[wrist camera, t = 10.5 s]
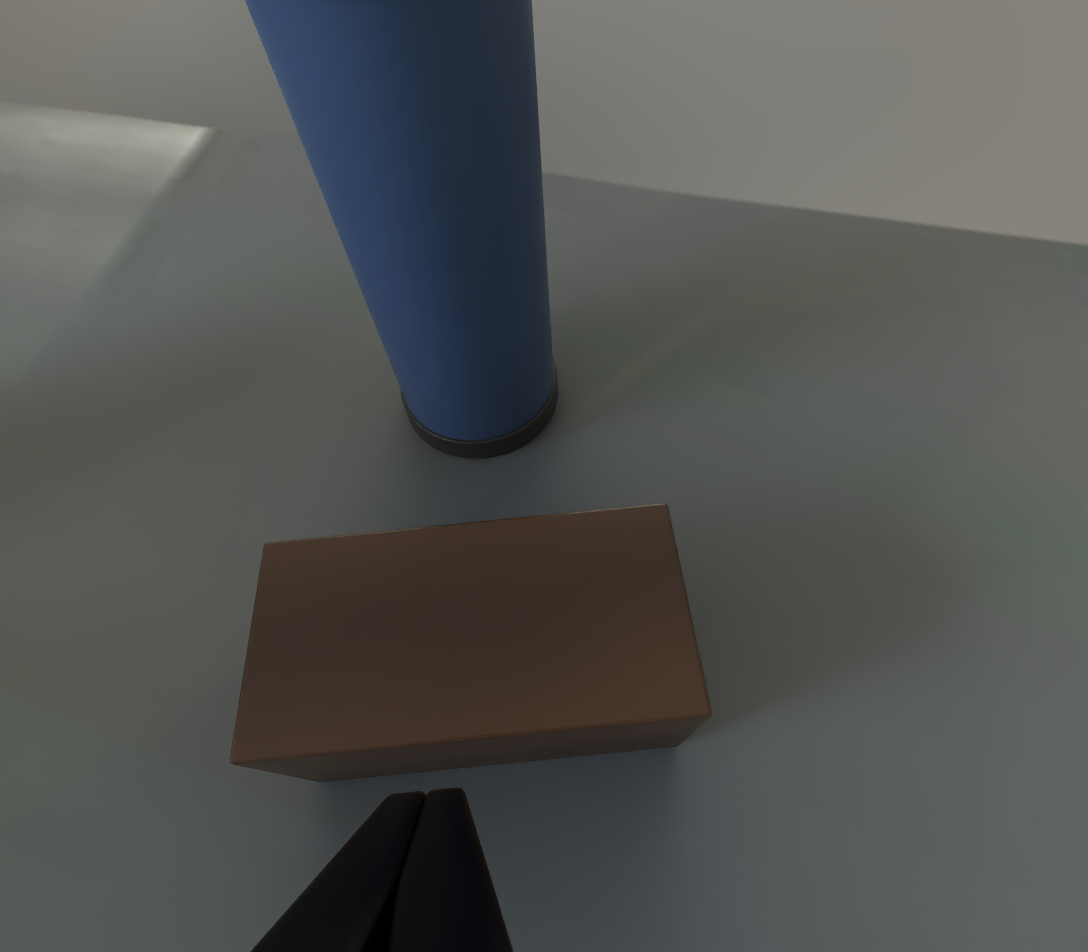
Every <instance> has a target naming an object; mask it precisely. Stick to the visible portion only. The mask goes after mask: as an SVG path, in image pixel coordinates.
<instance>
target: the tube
mask: <svg viewBox="0 0 1088 952" xmlns="http://www.w3.org/2000/svg"><path fill="white" fill-rule="evenodd" d="M245 1H246V4H247V6H248V9H249V11H250V14H251V16H252V19H253V21H254V24H255V26H256V29H257V31H258V34H259V36H260V39H261V41H262V44H263V46H264V49H265V51H266V53H267V56H268V59H269V61H270V64H271V66H272V69H273V71H274V74H275V76H276V79H277V81H278V83H279V86H280V88H281V91H282V94H283V96H284V98H285V101H286V103H287V106H288V108H289V111H290V113H291V116H292V118H293V121H294V123H295V126H296V128H297V131H298V133H299V136H300V138H301V141H302V143H303V146H304V148H305V151H306V153H307V156H308V158H309V161H310V163H311V166H312V168H313V171H314V173H315V176H316V178H317V181H318V183H319V186H320V188H321V191H322V193H323V196H324V198H325V201H326V203H327V206H328V208H329V211H330V213H331V216H332V218H333V221H334V223H335V226H336V228H337V231H338V233H339V236H340V238H341V240H342V243H343V245H344V248H345V250H346V253H347V255H348V258H349V260H350V263H351V265H352V268H353V270H354V273H355V275H356V278H357V280H358V283H359V285H360V288H361V290H362V293H363V295H364V298H365V300H366V303H367V305H368V308H369V310H370V313H371V315H372V318H373V320H374V323H375V325H376V328H377V330H378V333H379V335H380V338H381V340H382V343H383V345H384V348H385V350H386V353H387V355H388V358H389V360H390V363H391V365H392V368H393V370H394V373H395V375H396V377H397V380H398V382H399V385H400V387H401V396H402V401H403V404H404V407H405V409H406V412H407V414H408V417H409V419H410V422H411V424H412V426H413V427H414V429H415V431H416V432H417V433H418V434H419V435H420V437H421V438H422V439H424V440H425V441H426V442H427V443H428V444H430V445H431V446H433V447H435V448H436V449H438V450H441V451H443V452H445V453H448V454H451V455H454V456H460V457H467V458H485V457H492V456H497V455H501V454H504V453H507V452H510V451H512V450H515V449H517V448H519V447H521V446H522V445H524V444H526V443H527V442H529V441H530V440H531V439H533V438H534V437H535V436H536V435H537V434H538V433H539V432H540V431H541V430H542V429H543V428H544V427H545V425H546V424H547V422H548V421H549V419H550V418H551V416H552V414H553V412H554V409H555V406H556V402H557V395H558V391H557V371H556V366H555V363H554V360H553V357H552V343H551V325H550V308H549V291H548V274H547V256H546V239H545V222H544V205H543V188H542V170H541V154H540V138H539V119H538V102H537V85H536V68H535V51H534V33H533V16H532V0H245Z"/></svg>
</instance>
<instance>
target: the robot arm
mask: <svg viewBox="0 0 1088 952" xmlns="http://www.w3.org/2000/svg"><path fill="white" fill-rule="evenodd" d="M251 952H513V949H512V946H511V943H510V939H509V936H508V933H507V929H506V926H505V923H504V920H503V916H502V913H501V910H500V906H499V903H498V900H497V897H496V893H495V890H494V887H493V883H492V880H491V877H490V874H489V870H488V867H487V864H486V861H485V857H484V854H483V851H482V847H481V844H480V841H479V838H478V834H477V831H476V828H475V824H474V821H473V818H472V815H471V811H470V808H469V805H468V801H467V798H466V795H465V792H464V790H463V789H461V788H448V789H438V790H432V791H430V792H429V793H428V794H427V795H426V794H425V793H423V792H421V791H418V792H407V793H397V794H392V795H390V796H388V797H387V798H386V799H385V800H384V801H383V802H382V803H381V804H380V805H379V807H378V808H377V809H376V810H375V811H374V812H373V813H372V815H371V816H370V817H369V818H368V819H367V820H366V821H365V822H364V824H363V825H362V826H361V827H360V828H359V829H358V830H357V831H356V833H355V834H354V835H353V836H352V837H351V838H350V839H349V841H348V842H347V843H346V844H345V845H344V846H343V847H342V848H341V850H340V851H339V852H338V853H337V854H336V855H335V856H334V858H333V859H332V860H331V861H330V862H329V863H328V864H327V865H326V867H325V868H324V869H323V870H322V871H321V872H320V873H319V875H318V876H317V877H316V878H315V879H314V880H313V881H312V882H311V884H310V885H309V886H308V887H307V888H306V889H305V890H304V892H303V893H302V894H301V895H300V896H299V897H298V898H297V899H296V901H295V902H294V903H293V904H292V905H291V906H290V907H289V908H288V910H287V911H286V912H285V913H284V914H283V915H282V916H281V918H280V919H279V920H278V921H277V922H276V923H275V924H274V925H273V927H272V928H271V929H270V930H269V931H268V932H267V933H266V935H265V936H264V937H263V938H262V939H261V940H260V941H259V942H258V944H257V945H256V946H255V947H254V948H253V949H252V950H251Z"/></svg>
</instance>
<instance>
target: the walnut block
mask: <svg viewBox="0 0 1088 952" xmlns="http://www.w3.org/2000/svg"><path fill="white" fill-rule="evenodd" d="M711 713H712V711H711V707H710V702H709V697H708V692H707V688H706V683H705V678H704V674H703V669H702V664H701V659H700V655H699V650H698V645H697V641H696V636H695V631H694V627H693V622H692V617H691V612H690V608H689V603H688V598H687V594H686V589H685V584H684V579H683V575H682V570H681V565H680V561H679V556H678V551H677V546H676V542H675V537H674V532H673V528H672V523H671V518H670V513H669V509H668V506H667V504H666V503H660V504H650V505H640V506H630V507H620V508H610V509H600V510H590V511H580V512H570V513H560V514H550V515H540V516H530V517H520V518H510V519H500V520H490V521H480V522H470V523H460V524H450V525H440V526H430V527H420V528H410V529H400V530H390V531H380V532H370V533H360V534H350V535H340V536H330V537H320V538H310V539H300V540H290V541H280V542H270V543H265V544H264V548H263V554H262V560H261V567H260V573H259V579H258V585H257V592H256V598H255V604H254V611H253V617H252V623H251V630H250V636H249V642H248V649H247V655H246V661H245V667H244V674H243V680H242V686H241V693H240V699H239V705H238V712H237V718H236V724H235V731H234V737H233V743H232V749H231V756H230V763H231V764H233V765H238V766H243V767H248V768H253V769H258V770H263V771H267V772H272V773H277V774H282V775H287V776H292V777H297V778H302V779H307V780H312V781H317V782H325V781H335V780H345V779H355V778H365V777H375V776H385V775H395V774H405V773H415V772H425V771H435V770H445V769H455V768H465V767H475V766H485V765H495V764H505V763H515V762H525V761H535V760H545V759H555V758H565V757H575V756H585V755H595V754H605V753H615V752H625V751H636V750H646V749H656V748H666V747H676V746H678V745H679V744H681V743H682V742H683V741H684V740H685V739H686V738H687V737H688V736H689V735H690V734H692V733H693V732H694V731H695V730H696V729H697V728H698V727H699V726H700V725H701V724H702V723H704V722H705V721H706V720H707V719H708V718H709V717H710V716H711Z"/></svg>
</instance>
